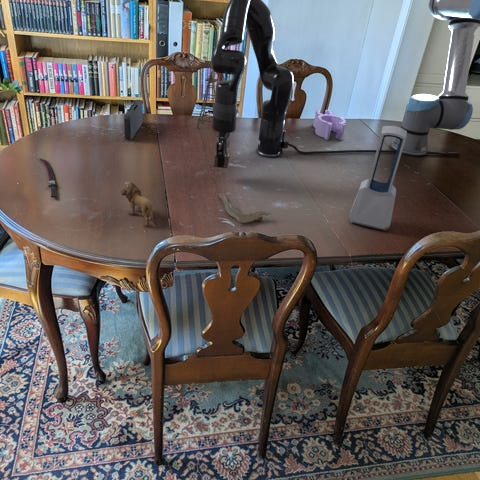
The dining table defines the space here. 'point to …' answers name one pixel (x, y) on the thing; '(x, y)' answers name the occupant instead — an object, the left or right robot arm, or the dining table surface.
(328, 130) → the clip
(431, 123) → the right robot arm
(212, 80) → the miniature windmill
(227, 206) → the jawbone
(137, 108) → the handheld gaming console
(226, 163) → the block
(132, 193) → the lion figurine
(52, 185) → the sword
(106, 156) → the dining table surface
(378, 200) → the electronic device
